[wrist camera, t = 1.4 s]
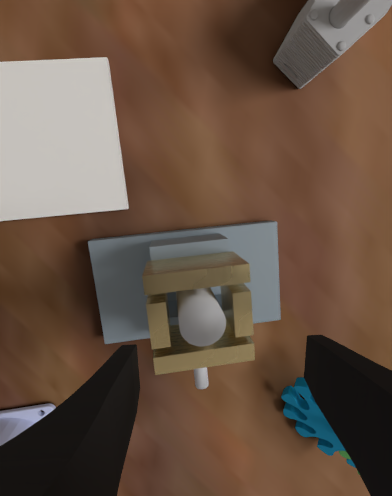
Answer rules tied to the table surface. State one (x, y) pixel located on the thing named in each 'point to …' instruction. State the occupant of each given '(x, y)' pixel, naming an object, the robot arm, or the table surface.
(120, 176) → the mat
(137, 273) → the vise
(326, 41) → the padlock
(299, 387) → the gear
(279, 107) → the table surface
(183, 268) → the sleeve
